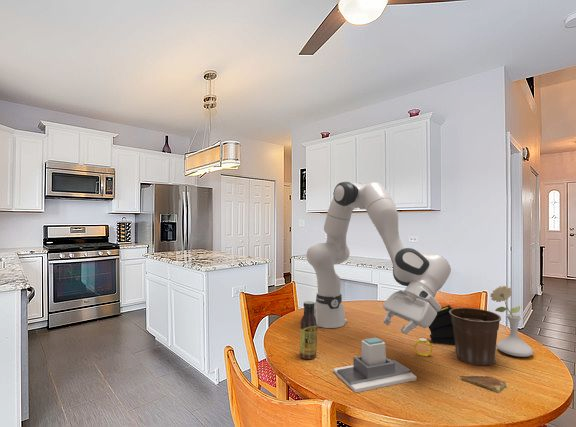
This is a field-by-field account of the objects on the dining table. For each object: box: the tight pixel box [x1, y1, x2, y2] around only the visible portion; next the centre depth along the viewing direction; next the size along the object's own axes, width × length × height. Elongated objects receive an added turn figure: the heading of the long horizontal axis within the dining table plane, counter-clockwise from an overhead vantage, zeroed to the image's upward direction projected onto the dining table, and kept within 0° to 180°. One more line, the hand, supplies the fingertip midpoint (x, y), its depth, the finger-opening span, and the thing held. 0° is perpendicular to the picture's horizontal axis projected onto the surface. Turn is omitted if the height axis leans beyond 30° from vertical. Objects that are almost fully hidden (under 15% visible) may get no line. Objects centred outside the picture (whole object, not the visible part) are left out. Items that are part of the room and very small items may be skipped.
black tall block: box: [428, 304, 455, 346], centre depth 133 cm, size 4×13×15 cm, turn 74°
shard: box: [459, 375, 507, 393], centre depth 101 cm, size 11×8×2 cm
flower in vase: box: [490, 285, 534, 358], centre depth 123 cm, size 13×11×25 cm
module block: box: [360, 337, 387, 366], centre depth 106 cm, size 4×6×10 cm
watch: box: [414, 337, 433, 357], centre depth 121 cm, size 6×3×6 cm, turn 73°
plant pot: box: [449, 307, 502, 367], centre depth 118 cm, size 16×16×16 cm
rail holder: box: [332, 355, 418, 394], centre depth 106 cm, size 14×22×5 cm, turn 109°
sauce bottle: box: [299, 300, 318, 360], centre depth 121 cm, size 6×6×20 cm
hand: (394, 327), depth 109 cm, fingers open, 8 cm apart
